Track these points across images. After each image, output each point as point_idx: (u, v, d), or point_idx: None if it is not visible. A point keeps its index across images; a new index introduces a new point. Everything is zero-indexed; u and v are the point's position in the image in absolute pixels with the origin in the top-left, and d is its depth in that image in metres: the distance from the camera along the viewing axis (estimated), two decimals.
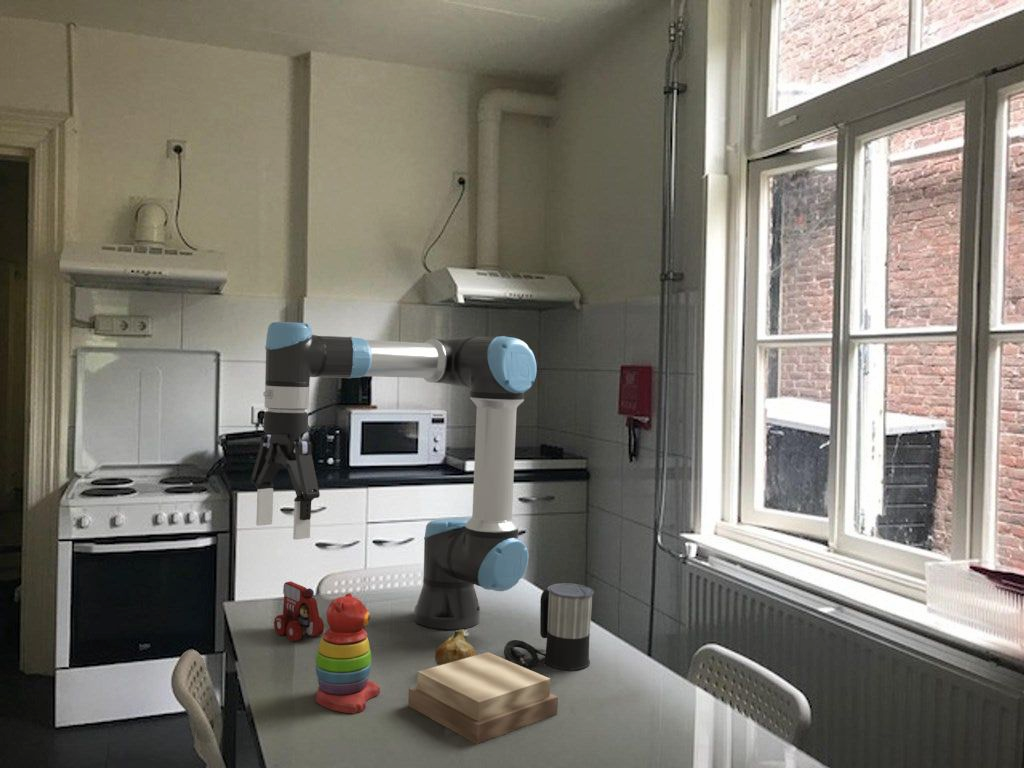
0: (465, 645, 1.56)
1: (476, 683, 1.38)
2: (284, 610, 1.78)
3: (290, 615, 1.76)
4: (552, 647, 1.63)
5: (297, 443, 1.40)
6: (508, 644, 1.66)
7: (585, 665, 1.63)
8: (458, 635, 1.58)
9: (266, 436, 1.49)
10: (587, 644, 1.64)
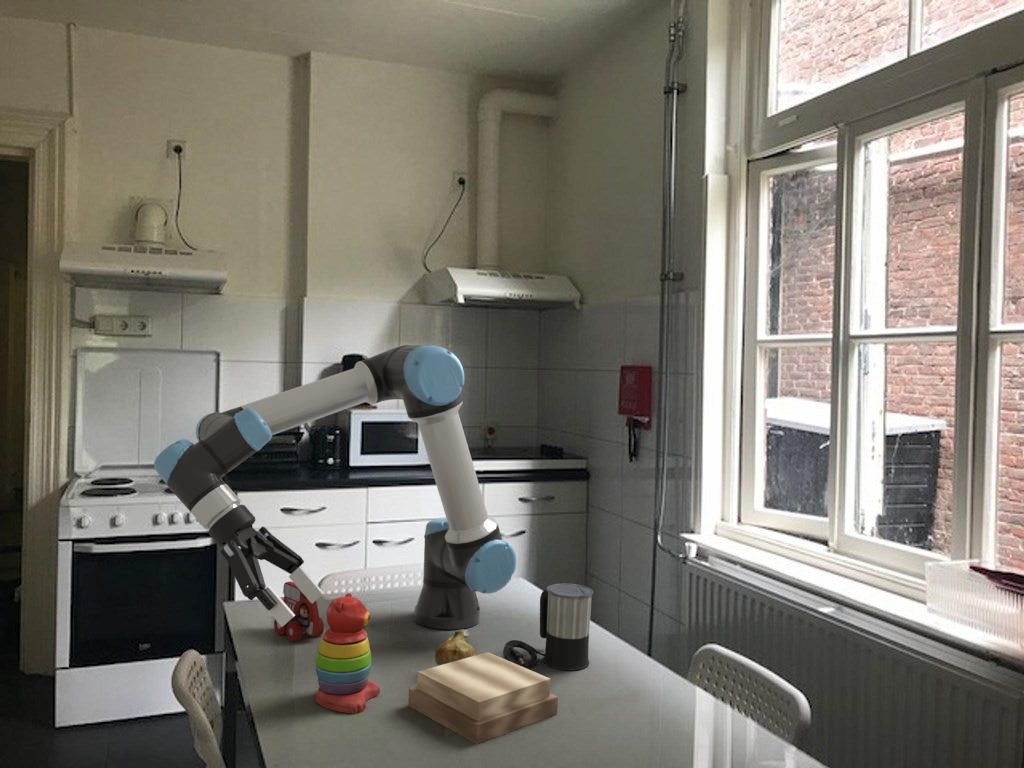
0: (465, 645, 1.56)
1: (476, 683, 1.38)
2: None
3: None
4: (551, 647, 1.63)
5: (221, 551, 1.38)
6: (507, 644, 1.66)
7: (584, 665, 1.63)
8: (458, 635, 1.58)
9: None
10: (586, 644, 1.64)
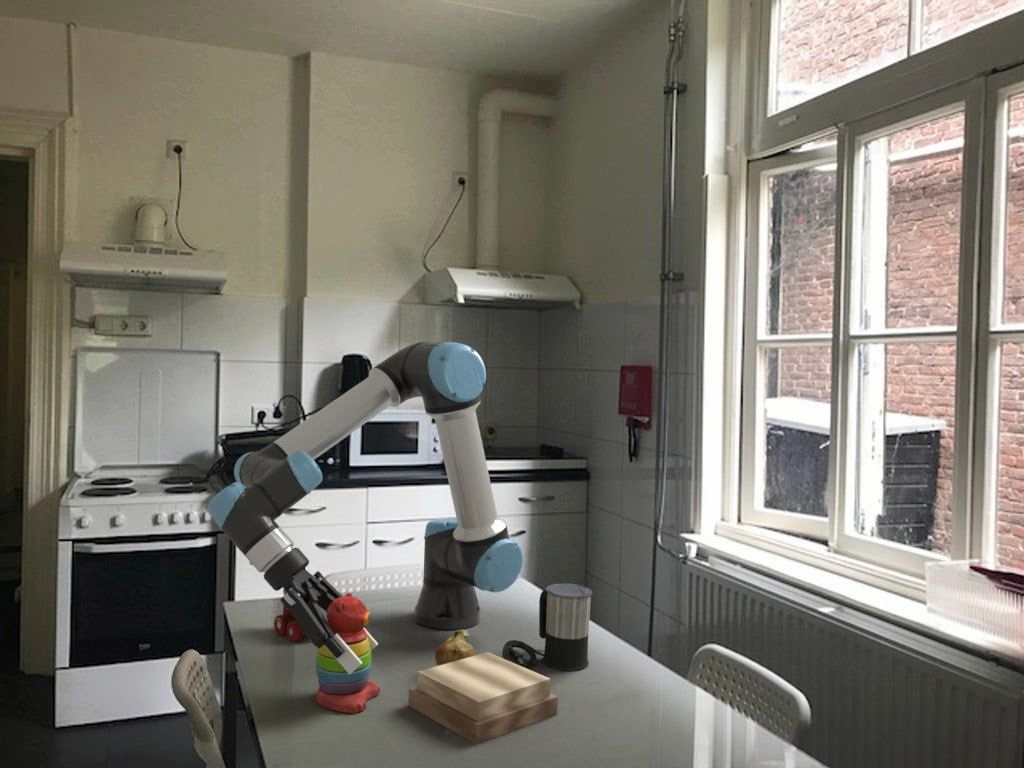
0: (465, 645, 1.56)
1: (476, 683, 1.38)
2: (284, 610, 1.78)
3: (290, 615, 1.76)
4: (551, 647, 1.63)
5: None
6: (507, 644, 1.65)
7: (584, 665, 1.63)
8: (458, 635, 1.58)
9: None
10: (586, 644, 1.63)
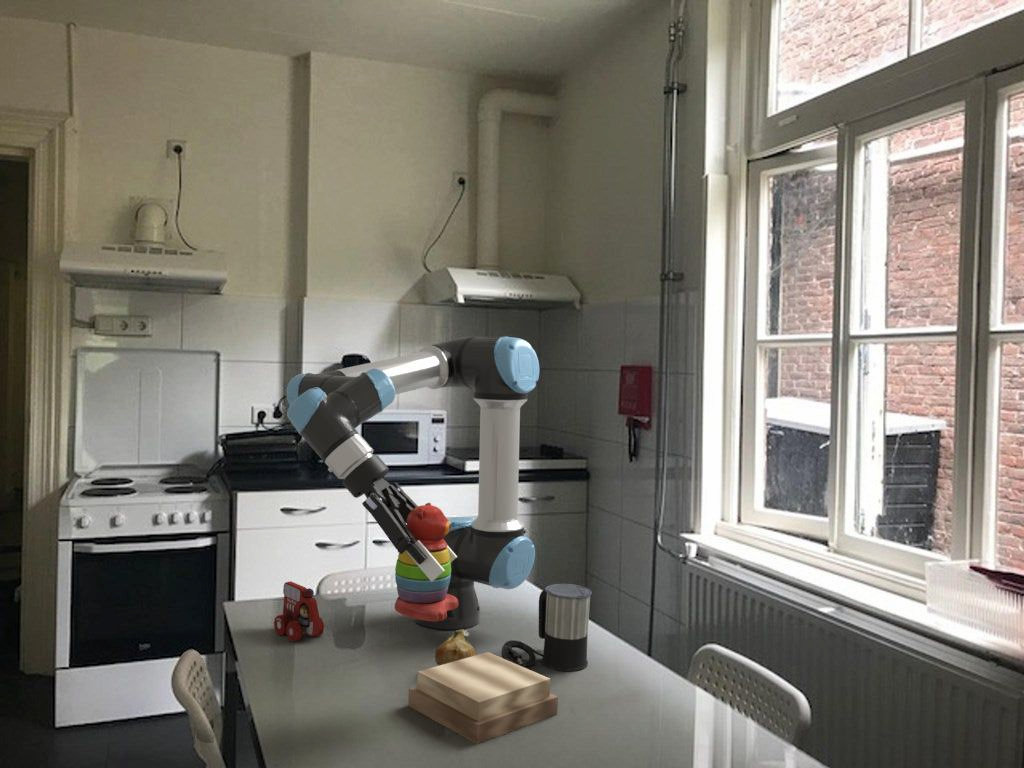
0: (465, 645, 1.56)
1: (476, 683, 1.38)
2: (284, 610, 1.78)
3: (290, 615, 1.76)
4: (550, 647, 1.62)
5: (363, 504, 1.34)
6: (506, 644, 1.65)
7: (583, 666, 1.62)
8: (458, 635, 1.58)
9: None
10: (585, 645, 1.63)
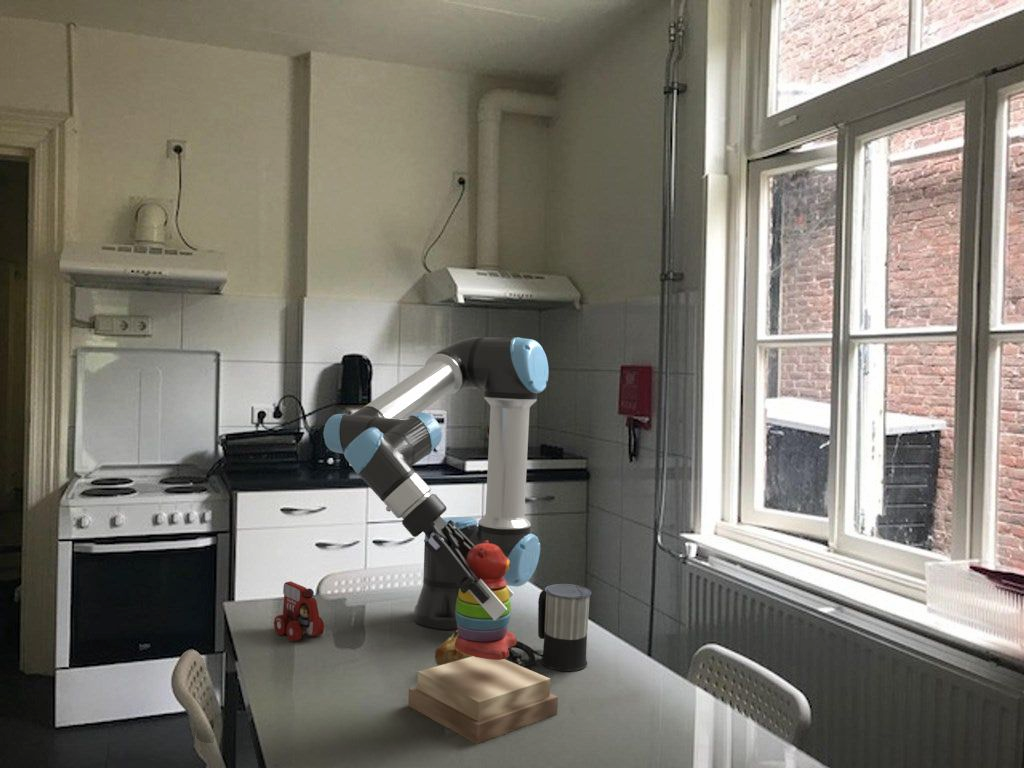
0: None
1: (476, 683, 1.38)
2: (284, 610, 1.78)
3: (290, 615, 1.76)
4: (549, 647, 1.62)
5: (425, 544, 1.35)
6: None
7: (582, 666, 1.62)
8: None
9: None
10: (584, 645, 1.63)
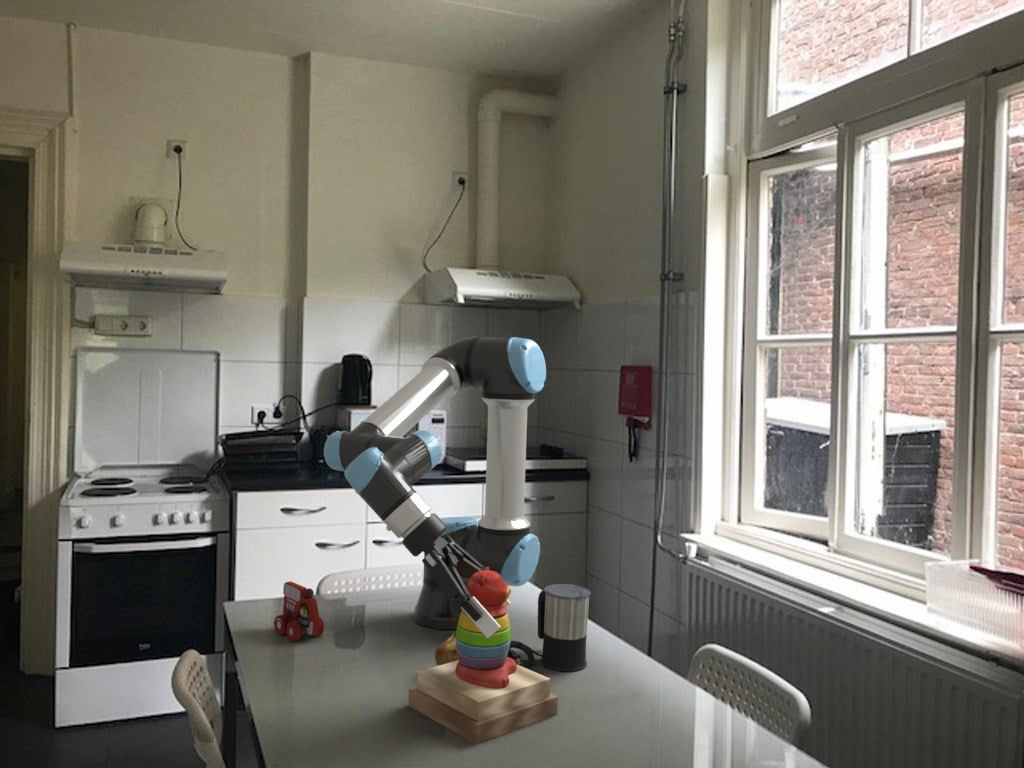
0: None
1: None
2: (284, 610, 1.78)
3: (290, 615, 1.76)
4: (549, 648, 1.62)
5: None
6: None
7: (582, 666, 1.62)
8: None
9: None
10: (584, 645, 1.63)
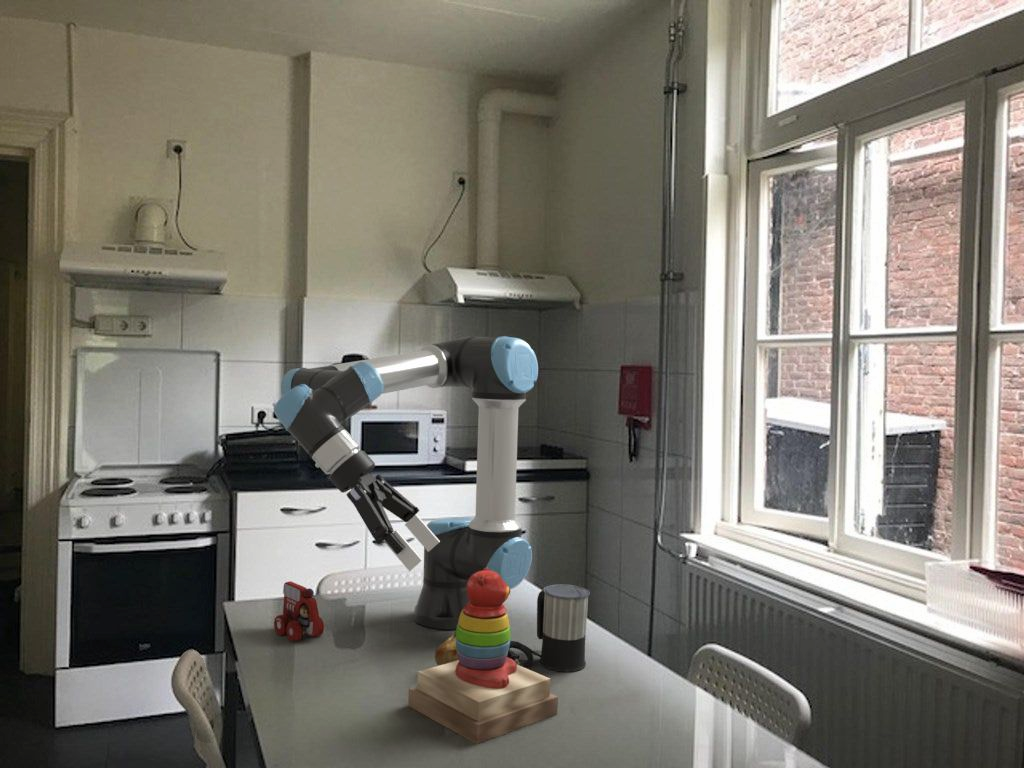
0: None
1: None
2: (284, 610, 1.78)
3: (290, 615, 1.76)
4: (547, 648, 1.62)
5: (347, 495, 1.37)
6: None
7: (580, 667, 1.62)
8: None
9: None
10: (583, 646, 1.63)
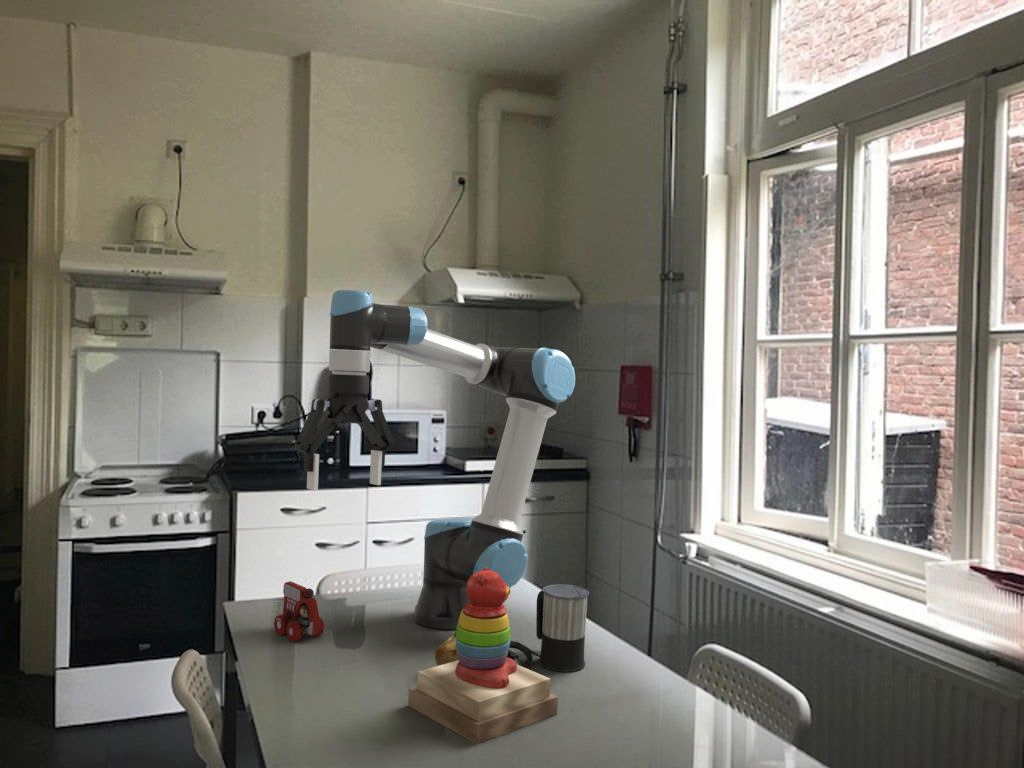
0: None
1: None
2: (284, 610, 1.78)
3: (290, 615, 1.76)
4: (547, 648, 1.62)
5: None
6: None
7: (580, 667, 1.62)
8: None
9: (372, 400, 1.59)
10: (582, 646, 1.63)
